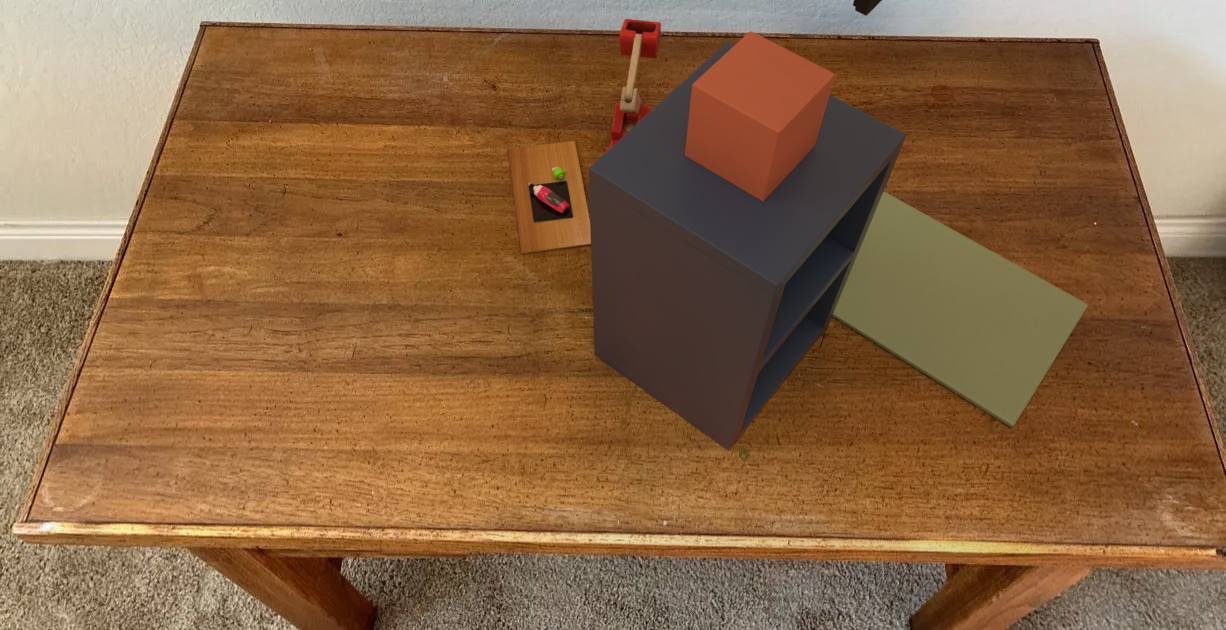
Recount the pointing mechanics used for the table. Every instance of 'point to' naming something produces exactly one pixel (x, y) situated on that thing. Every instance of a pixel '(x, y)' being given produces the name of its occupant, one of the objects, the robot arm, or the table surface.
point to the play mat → (955, 309)
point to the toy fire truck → (634, 74)
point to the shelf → (725, 259)
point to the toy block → (756, 114)
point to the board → (549, 197)
